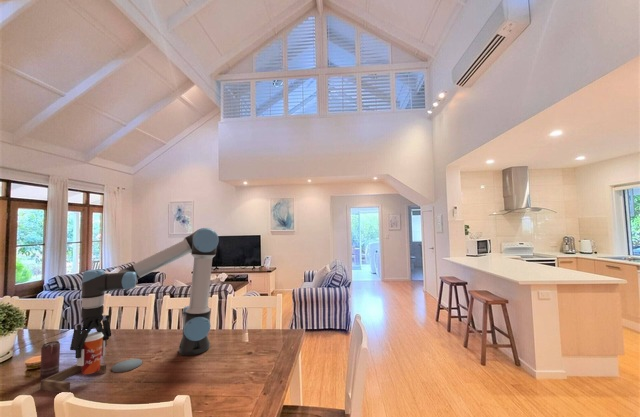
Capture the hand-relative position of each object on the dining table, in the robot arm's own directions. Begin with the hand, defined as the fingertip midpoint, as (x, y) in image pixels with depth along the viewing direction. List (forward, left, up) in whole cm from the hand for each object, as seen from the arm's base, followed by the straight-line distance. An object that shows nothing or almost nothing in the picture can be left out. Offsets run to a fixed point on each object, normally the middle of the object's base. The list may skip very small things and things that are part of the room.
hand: (91, 360), depth 121 cm
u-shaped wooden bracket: (+8, 0, -9) cm, 12 cm away
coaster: (-3, -15, -9) cm, 18 cm away
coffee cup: (0, 0, -5) cm, 5 cm away
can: (+24, -1, -9) cm, 26 cm away
